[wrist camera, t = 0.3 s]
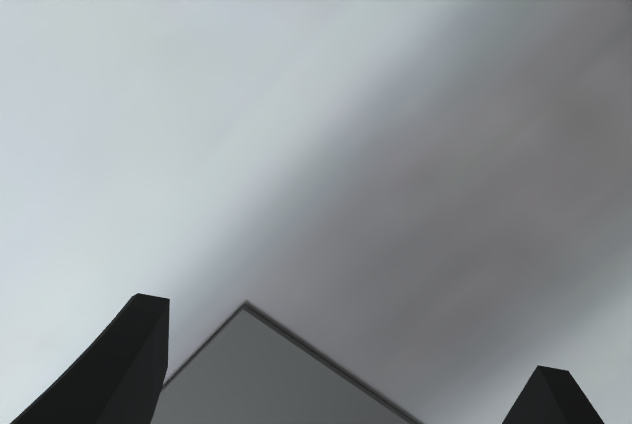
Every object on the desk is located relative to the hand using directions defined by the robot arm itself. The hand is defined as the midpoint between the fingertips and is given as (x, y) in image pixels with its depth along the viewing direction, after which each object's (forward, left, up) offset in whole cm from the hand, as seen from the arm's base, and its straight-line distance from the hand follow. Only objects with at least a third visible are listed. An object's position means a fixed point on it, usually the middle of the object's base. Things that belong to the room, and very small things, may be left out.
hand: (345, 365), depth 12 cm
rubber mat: (-13, -7, -11) cm, 18 cm away
